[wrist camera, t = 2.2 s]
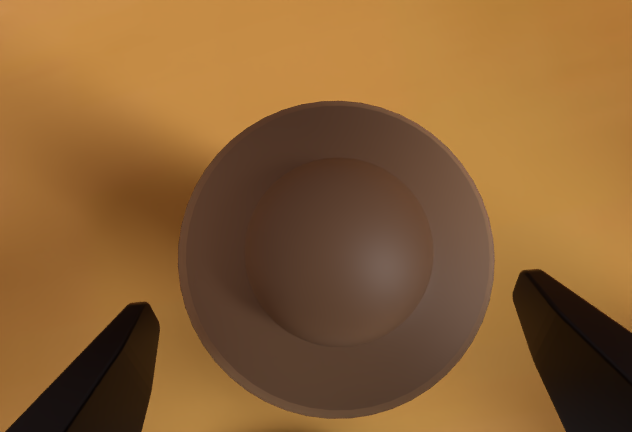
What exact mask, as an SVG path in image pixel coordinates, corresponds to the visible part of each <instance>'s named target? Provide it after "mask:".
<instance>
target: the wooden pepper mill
mask: <svg viewBox="0 0 632 432" xmlns="http://www.w3.org/2000/svg"><path fill="white" fill-rule="evenodd" d="M494 262H495V258H494V244H493V236H492V231H491V226H490V221H489V217H488V214H487V211H486V208H485V206H484V203H483V200H482V198H481V195H480V193H479V191H478V189H477V187H476V185H475V183H474V181H473V180H472V178H471V177H470V175H469V174H468V172H467V171H466V169H465V168H464V166H463V165H462V163H461V162H460V161H459V160H458V159H457V157H456V156H455V155H454V154H453V153H452V152H451V151H450V149H449V148H448V147H447V146H445V145H444V144H443V143H442V142H441V141H440V140H439V139H438V138H436V137H435V136H434V135H433V134H432V133H430V132H429V131H427V130H426V129H424V128H423V127H421V126H420V125H418V124H417V123H415V122H413V121H411V120H409V119H407V118H405V117H404V116H402V115H400V114H397V113H394V112H392V111H389V110H386V109H383V108H381V107H377V106H372V105H368V104H364V103H357V102H347V101H321V102H315V103H308V104H302V105H298V106H295V107H291V108H288V109H284V110H281V111H279V112H277V113H274V114H272V115H270V116H267V117H265V118H263V119H261V120H260V121H258V122H256V123H255V124H253V125H251V126H250V127H248V128H246V129H245V130H244V131H243V132H241V133H240V134H239V135H237V136H236V137H235V138H233V139H232V140H231V141H230V142H229V143H228V144H227V145H226V146H225V147H224V148H223V149H222V150H221V151H220V152H219V153H218V154H217V155H216V157H215V158H214V159H213V161H212V162H211V163H210V164H209V166H208V167H207V168H206V170H205V171H204V173H203V175H202V176H201V178H200V180H199V181H198V183H197V185H196V186H195V188H194V191H193V193H192V195H191V198H190V200H189V202H188V205H187V208H186V211H185V215H184V218H183V222H182V226H181V232H180V239H179V246H178V270H179V279H180V287H181V291H182V296H183V300H184V304H185V308H186V310H187V313H188V315H189V318H190V320H191V323H192V326H193V328H194V329H195V331H196V333H197V335H198V337H199V339H200V340H201V342H202V344H203V346H204V347H205V348H206V350H207V351H208V352H209V354H210V355H211V357H212V358H213V359H214V361H215V362H216V363H217V364H218V365H219V366H220V367H221V368H222V369H223V370H224V371H225V372H226V373H227V374H228V376H229V377H230V378H232V379H233V380H234V381H235V382H237V383H238V384H239V385H240V386H242V387H243V388H244V389H246V390H247V391H248V392H250V393H252V394H253V395H255V396H257V397H258V398H260V399H262V400H264V401H265V402H267V403H270V404H272V405H274V406H277V407H279V408H282V409H284V410H287V411H290V412H294V413H298V414H301V415H305V416H312V417H319V418H327V419H336V418H355V417H362V416H369V415H373V414H377V413H380V412H383V411H387V410H390V409H393V408H395V407H397V406H400V405H402V404H404V403H406V402H409V401H411V400H413V399H414V398H416V397H417V396H419V395H421V394H422V393H424V392H425V391H427V390H428V389H430V388H431V387H432V386H434V385H435V384H436V383H437V382H438V381H439V380H441V379H442V378H443V377H444V376H445V375H447V373H448V372H449V371H450V370H451V369H452V368H453V367H454V366H455V365H456V363H457V362H458V361H459V360H460V359H461V358H462V356H463V355H464V353H465V352H466V350H467V349H468V347H469V346H470V344H471V343H472V342H473V340H474V338H475V336H476V334H477V332H478V330H479V328H480V326H481V324H482V322H483V319H484V316H485V313H486V310H487V307H488V304H489V300H490V295H491V290H492V285H493V278H494Z"/></svg>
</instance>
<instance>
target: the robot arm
mask: <svg viewBox="0 0 632 432" xmlns="http://www.w3.org/2000/svg"><path fill="white" fill-rule="evenodd" d="M513 302H514V305H515V308H516V311H517V314H518V317H519V320H520V323H521V326H522V329H523V332H524V335H525V338H526V341H527V344H528V347H529V350H530V353H531V355H532V358H533V361H534V363H535V365H536V368H537V370H538V372H539V374H540V377H541V379H542V381H543V383H544V385H545V387H546V389H547V392H548V394H549V396H550V398H551V400H552V402H553V405H554V407H555V409H556V411H557V413H558V415H559V418H560V420H561V422H562V424H563V426H564V428H565V431H566V432H632V333H631V332H630V331H628V330H627V329H626V328H624V327H623V326H621V325H620V324H618V323H617V322H616V321H614V320H613V319H611V318H610V317H608V316H607V315H605V314H604V313H603V312H601V311H600V310H598V309H597V308H595V307H594V306H593V305H591V304H590V303H588V302H587V301H585V300H584V299H583V298H581V297H580V296H578V295H577V294H575V293H574V292H572V291H571V290H570V289H568V288H567V287H565V286H564V285H562V284H561V283H560V282H558V281H557V280H555V279H554V278H552V277H551V276H550V275H548V274H547V273H545V272H544V271H542V270H540V269H531V270H523V271H522V272H520V274H519V277H518V279H517V282H516V285H515V288H514V290H513ZM159 332H160V325H159V322H158V319H157V317H156V316H155V314H154V312H153V310H152V308H151V306H150V305H149V303H147V302H135V303H130V304H129V305H127V306H126V307H125V308H124V309H123V310H122V311H121V312H120V313H119V314H118V315H117V316H116V318H115V319H114V320H113V321H112V322H111V323H110V324H109V325H108V326H107V327H106V328H105V329H104V330H103V331H102V332H101V333H100V334H99V335H98V336H97V337H96V338H95V339H94V340H93V341H92V342H91V343H90V344H89V345H88V347H87V348H86V349H85V350H84V351H83V352H82V353H81V354H80V355H79V356H78V357H77V358H76V359H75V360H74V361H73V362H72V363H71V364H70V365H69V366H68V367H67V368H66V369H65V370H64V371H63V372H62V373H61V374H60V376H59V377H58V378H57V379H56V380H55V381H54V382H53V383H52V384H51V385H50V386H49V387H48V388H47V389H46V390H45V391H44V392H43V393H42V394H41V395H40V396H39V397H38V398H37V399H36V400H35V401H34V402H33V403H32V405H31V406H30V407H29V408H28V409H27V410H26V411H25V412H24V413H23V414H22V415H21V416H20V417H19V418H18V419H17V420H16V421H15V422H14V423H13V424H12V425H11V426H10V427H9V428H8V429H7V430H6V431H5V432H141V431H142V427H143V423H144V419H145V415H146V411H147V407H148V403H149V399H150V395H151V390H152V384H153V377H154V369H155V362H156V355H157V347H158V340H159Z"/></svg>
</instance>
